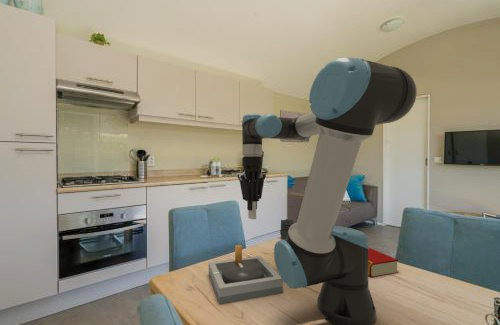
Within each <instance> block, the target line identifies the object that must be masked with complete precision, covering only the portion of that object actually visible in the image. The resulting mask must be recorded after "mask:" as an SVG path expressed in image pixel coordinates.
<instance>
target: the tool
mask: <svg viewBox="0 0 500 325" xmlns="http://www.w3.org/2000/svg"><path fill="white" fill-rule="evenodd" d="M293 224H294V220H293V219H287V218H286V219H280V230H279V231H280V233H279V235H280V240H281V239H283V240H285V239H286V238H287V234H288V230H289V228H290V226H291V225H293Z"/></svg>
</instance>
